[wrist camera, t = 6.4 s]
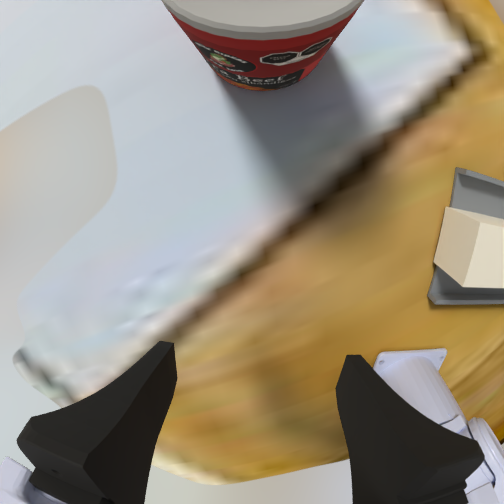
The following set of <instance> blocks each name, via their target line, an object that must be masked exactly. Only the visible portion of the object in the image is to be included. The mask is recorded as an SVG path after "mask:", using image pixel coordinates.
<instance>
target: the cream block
mask: <svg viewBox="0 0 504 504" xmlns="http://www.w3.org/2000/svg"><path fill="white" fill-rule="evenodd" d="M433 262H434V263H435V264H436V265H438V266H439V267H440V268H441V269H442V270H444V271H445V272H446V273H447V274H448V275H450V276H451V277H452V278H453V279H454V280H455V281H457V282H458V283H459V284H460V285H461V286H462V287H478V288H504V219H500V218H496V217H492V216H487V215H483V214H479V213H474V212H470V211H465V210H460V209H456V208H451V207H446V208H445V213H444V218H443V223H442V228H441V232H440V237H439V241H438V245H437V249H436V253H435V257H434V261H433Z"/></svg>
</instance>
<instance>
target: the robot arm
mask: <svg viewBox="0 0 504 504" xmlns="http://www.w3.org/2000/svg"><path fill="white" fill-rule="evenodd" d="M446 354H447V350H446V349H445V348H440V349H427V350H412V351H390V352H381V353H380V354H379V355H378V356H377V359H376V362H375V364H374V367H373V368H372V367H371V366H370V365H369V364H368V363H367V362H366V360H365V359H364V358H363V357H362V356H361V355H347V356H346V359H345V362H344V365H343V368H342V371H341V374H340V377H339V380H338V383H337V386H336V397H337V405H338V411H339V415H340V419H341V423H342V427H343V431H344V435H345V439H346V443H347V447H348V451H349V457H350V465H351V476H352V494H353V504H504V450H503V449H502V447H501V445H500V443H499V441H498V439H497V438H496V436H495V434H494V433H493V431H492V430H491V428H490V427H489V425H488V424H487V423H486V421H485V420H484V419H483V418H476V417H473V418H472V419H471V420H470V421H467V420H466V418H465V416H464V414H463V413H462V411H461V409H460V407H459V405H458V404H457V402H456V400H455V399H454V397H453V395H452V393H451V392H450V390H449V388H448V387H447V385H446V383H445V382H444V380H443V378H442V377H441V375H440V374H439V372H438V370H439V369H440V367H441V365H442V363H443V361H444V358H445V356H446ZM382 360H383V361H382ZM380 361H382V362H380ZM176 382H177V370H176V361H175V351H174V343H171V342H164V341H159V342H158V343H157V344H156V345H155V346H154V347H153V348H151V349H150V350H149V351H148V352H147V353H146V354H145V355H144V356H143V357H142V358H141V359H140V360H139V361H137V362H136V363H135V364H134V365H133V366H132V367H131V368H129V369H128V370H127V371H126V372H125V373H123V374H122V375H121V376H119V377H118V378H117V379H115V380H114V381H113V382H111V383H110V384H109V385H107V386H106V387H104V388H103V389H101V390H99V391H98V392H96V393H94V394H92V395H91V396H89V397H87V398H85V399H83V400H81V401H79V402H77V403H74V404H72V405H69V406H67V407H64V408H62V409H59V410H56V411H53V412H49V413H46V414H42V415H38V416H34V417H31V418H30V420H29V421H28V423H27V424H26V426H25V427H24V429H23V430H22V432H21V433H20V435H19V437H18V438H17V444H18V446H19V448H20V449H21V451H22V452H23V453H24V454H25V456H26V457H27V458H28V459H29V460H30V462H31V463H32V464H33V465H34V466H35V467H36V468H35V470H34V472H32V471H30V470H29V469H28V468H26V467H25V466H23V465H21V464H20V463H18V462H16V461H14V460H13V459H11V458H10V457H8V456H7V457H5V459H4V461H3V462H2V464H1V466H0V504H144V502H145V495H146V488H147V482H148V477H149V471H150V467H151V462H152V458H153V453H154V449H155V445H156V442H157V439H158V436H159V433H160V430H161V428H162V425H163V422H164V420H165V417H166V414H167V412H168V409H169V406H170V404H171V401H172V398H173V395H174V391H175V386H176Z"/></svg>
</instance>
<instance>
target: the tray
mask: <svg viewBox="0 0 504 504" xmlns="http://www.w3.org/2000/svg"><path fill="white" fill-rule="evenodd" d="M450 207H451V208H456V209H460V210H465V211H470V212H474V213H479V214H483V215H487V216H492V217H496V218H500V219H504V182H503V181H500V180H497V179H495V178H492V177H489V176H486V175H483V174H480V173H476V172H473V171H470V170H467V169H462V168H457V167H456V169H455V176H454V183H453V190H452V196H451V202H450ZM427 296H428V297H429V298H430V299H431V300H432V302H433V303H434V304H504V288H478V287H462V286H461V285H460V284H459V283H458V282H457V281H455V280H454V279H453V278H452V277H451V276H450V275H448V274H447V273H446V272H445V271H444V270H442V269H441V268H440V267H439V266H438V265H436V268H435V272H434V275H433V279H432V282H431V285H430V289H429V292H428V295H427Z"/></svg>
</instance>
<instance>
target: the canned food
mask: <svg viewBox="0 0 504 504" xmlns="http://www.w3.org/2000/svg"><path fill="white" fill-rule="evenodd" d="M363 1H364V0H162V2H163V3H164V5H165V7H166V8H167V9H168V11H169V12H170V13H171V15H172V16H173V18H174V19H175V21H176V22H177V23H178V24H179V26H180V27H181V28H182V30H183V31H184V32H185V33H186V35H187V36H188V37H189V39H190V40H191V41H192V42H193V44H194V45H195V46H196V48H197V49H198V50H199V52H200V53H201V54H202V56H203V57H204V59H205V60H206V61H207V63H208V64H209V65H210V67H211V68H212V69H213V70H214V71H215V72H216V73H217V74H218V76H220V77H221V78H223V79H224V80H225V81H227V82H228V83H231V84H233V85H235V86H238V87H241V88H245V89H249V90H259V91H266V90H276V89H280V88H283V87H287V86H290V85H292V84H294V83H296V82H298V81H300V80H301V79H303V78H304V77H305V76H307V75H308V74H309V73H310V72H311V71H312V70H313V69H314V68H315V67H316V66H317V64H318V63H319V61H320V60H321V59H322V57H323V56H324V55H325V53H326V52H327V50H328V49H329V48H330V46H331V45H332V44H333V42H334V41H335V40H336V38H337V37H338V36H339V34H340V33H341V32H342V30H343V29H344V28H345V26H346V25H347V24H348V22H349V21H350V20H351V19H352V17H353V16H354V14H355V13H356V11H357V10H358V8H359V7H360V6H361V4H362V3H363Z"/></svg>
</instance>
